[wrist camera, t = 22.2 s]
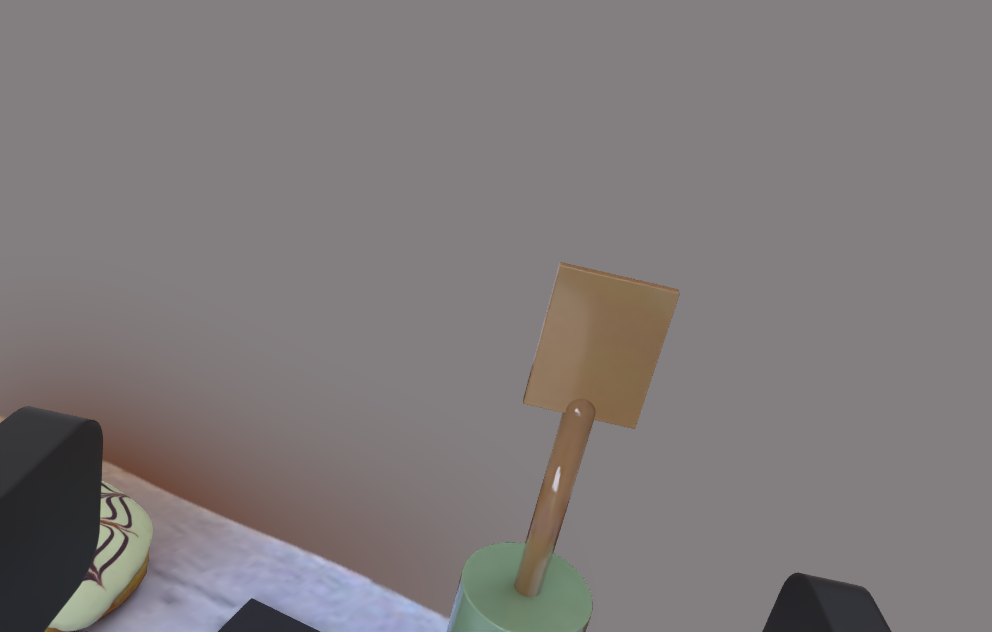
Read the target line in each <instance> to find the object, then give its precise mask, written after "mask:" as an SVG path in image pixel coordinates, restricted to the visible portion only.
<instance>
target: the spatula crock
mask: <svg viewBox="0 0 992 632" xmlns="http://www.w3.org/2000/svg"><path fill="white" fill-rule="evenodd" d="M679 295H680V293H679V290H678V289H674V288H669V287H666V286H661V285H657V284H653V283H648V282H644V281H639V280H635V279H631V278H627V277H623V276H618V275H614V274H610V273H605V272H601V271H597V270H592V269H588V268H584V267H579V266H575V265H571V264H566V263H562V262H560V263H559V266H558V270H557V274H556V278H555V282H554V286H553V289H552V293H551V297H550V300H549V304H548V308H547V312H546V316H545V319H544V323H543V327H542V331H541V335H540V338H539V342H538V346H537V350H536V353H535V357H534V361H533V365H532V369H531V372H530V376H529V380H528V384H527V388H526V392H525V395H524V400H523V403H524V404H527V405H531V406H536V407H540V408H545V409H549V410H553V411H558V412H562V413H563V414H562V418H561V421H560V425H559V428H558V431H557V435H556V438H555V442H554V446H553V449H552V453H551V456H550V459H549V463H548V466H547V470H546V473H545V477H544V480H543V484H542V487H541V491H540V494H539V497H538V501H537V504H536V508H535V511H534V515H533V518H532V522H531V525H530V529H529V532H528V536H527V539H526V543H525V544H523V543H515V542H505V543H497V544H492V545H489V546H486V547H483V548H481V549H479V550H478V551H477V552H475V553H474V554H473V555H472V556H470V558H469V559H468V560H467V561H466V563H465V565H464V567H463V570H462V574H461V578H460V582H459V586H458V590H457V593H456V598H455V602H454V605H453V610H452V613H451V617H450V621H449V625H448V629H447V632H585V631H586V628H587V626H588V623H589V619H590V617H591V613H592V609H593V602H592V596H591V593H590V589H589V587H588V585H587V583H586V582H585V580H584V578H583V577H582V576H581V575H580V573H579V572H578V571H577V570H576V569H575V568H574V567H573V566H571V565H570V564H569V563H568V562H567V561H565V560H564V559H562V558H561V557H559V556H557V555H556V554H554V553H553V552H554V548H555V545H556V541H557V539H558V535H559V532H560V529H561V526H562V522H563V519H564V516H565V513H566V509H567V506H568V503H569V499H570V496H571V493H572V490H573V486H574V483H575V480H576V477H577V473H578V470H579V467H580V464H581V460H582V457H583V454H584V450H585V447H586V444H587V441H588V437H589V434H590V431H591V428H592V424H593V421H594V420H597V421H602V422H606V423H610V424H615V425H619V426H624V427H628V428H632V429H635V428H636V425H637V422H638V419H639V415H640V412H641V410H642V407H643V403H644V400H645V397H646V394H647V391H648V388H649V385H650V382H651V379H652V376H653V373H654V370H655V367H656V364H657V361H658V358H659V355H660V352H661V349H662V346H663V343H664V340H665V337H666V334H667V331H668V328H669V325H670V322H671V319H672V316H673V313H674V310H675V307H676V304H677V301H678V297H679Z"/></svg>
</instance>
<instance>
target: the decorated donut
mask: <svg viewBox="0 0 992 632" xmlns="http://www.w3.org/2000/svg"><path fill="white" fill-rule="evenodd" d="M152 537H153V525H152V522H151V519H150V518H149V516H148V515H147V513H146V512H145V510H144V509H143V508H141V507H140V506H139V505H138V504H137V503H136V502H135V501H133V500H132V499H131V498H130V497H129V496H127V495H126V494H124V493H123V492H121V491H120V490H118V489H116V488H115V487H113V486H112V485H110V484H108V483H106V482H104V481H102V482H101V511H100V533H99V540H98V545H97V549H96V552H95V555H94V558H93V561H92V563H91V566H90V568H89V570H88V572H87V574H86V576H85V578H84V580H83V582H82V583H81V585H80V586H79V588H78V589H77V590H76V592H75V593H74V594H73V596H72V597H71V598H70V599H69V601H68V602H67V603H66V605H65V606H64V607H63V608H62V610H61V611H60V612H59V613H58V615H57V616H56V617H55V619H54V620H53V621H52V622H51V624H50V625H49V626H48V627H47V629H46V630H45V631H44V632H69V631H75V630H79V629H83V628H86V627H89V626H90V625H92V624H93V623H95V622H96V621H99V620H100V619H101V618H102V617H104V616H105V615H107V614H108V613H110V612H111V611H112V610H114V609H115V608H117V607H118V606H120V605H121V604H122V603H124V602H125V600H126V599H127V598H128V597H129V596H130V595H131V593H132V592H133V591H134V590H135V589H136V587H137V586H138V585H139V584H140V582H141V580H142V579H143V577H144V576H145V574H146V572H147V563H148V561H149V549H150V543H151V540H152Z"/></svg>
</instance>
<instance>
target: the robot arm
mask: <svg viewBox="0 0 992 632" xmlns="http://www.w3.org/2000/svg"><path fill="white" fill-rule="evenodd" d="M102 450H103V435H102V429H101V426H100V425H99V423H98V422H97V421H95V420H90V419H85V418H81V417H76V416H71V415H67V414H62V413H58V412H53V411H48V410H44V409H38V408H34V407H30V406H28V407H23V408H20V409H19V410H17V411H16V412H14V413H13V414H12V415H10V416H9V417H8V418H6V419H5V420H4V421H3V422H1V423H0V632H44V631H45V630H46V629H47V627H48V626H49V625H50V624H51V622H52V621H53V620H54V619H55V617H56V616H57V615H58V613H59V612H60V611H61V610H62V608H63V607H64V606H65V605H66V603H67V602H68V601H69V599H70V598H71V597H72V596H73V594H74V593H75V592H76V590H77V589H78V588H79V586H80V585H81V583H82V582H83V580H84V578H85V576H86V574H87V572H88V570H89V568H90V566H91V563H92V561H93V558H94V555H95V552H96V549H97V545H98V540H99V533H100V511H101V482H102ZM763 632H891V630H890V628H889V627H888V625H887V623H886V621H885V620H884V617H883V616H882V614H881V612H880V610H879V608H878V607H877V605H876V603H875V601H874V599H873V598H872V596H871V594H870V593H869V592H868V591H867V590H866V589H865V588H864V587H862V586H858V585H853V584H849V583H844V582H839V581H834V580H829V579H825V578H820V577H815V576H811V575H806V574H802V573H794V574H792V575H791V576H790V577H789V578H788V579H787V580H786V581H785V583H784V585H783V587H782V589H781V591H780V593H779V595H778V598H777V600H776V602H775V605H774V607H773V609H772V611H771V613H770V616H769V618H768V621H767V623H766V625H765V627H764V630H763Z"/></svg>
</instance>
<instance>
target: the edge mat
mask: <svg viewBox="0 0 992 632" xmlns="http://www.w3.org/2000/svg"><path fill="white" fill-rule="evenodd" d="M218 632H320V631H318V630H316V629H314V628H312V627H310V626H308V625H306V624H304V623H302V622H299V621H297V620H295V619H293V618H291V617H289V616H287V615H285V614H283V613H281V612H279V611H277V610H275V609H273V608H271V607H269V606H267V605H265V604H263V603H261V602H259V601H256V600H254V599H252V598H251V599H250V600H249V601H248V602H247V603H246V604H245V605H244V606H243V607H242V608H241V609H240V610H239V611H238V612H237V613H236V614H235V615H234V616H233V617H232V618H231V619H230V620H229V621H228V622H227V623H226V624H225V625H224V626H223V627H222V628H221V629H220V630H219V631H218Z"/></svg>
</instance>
